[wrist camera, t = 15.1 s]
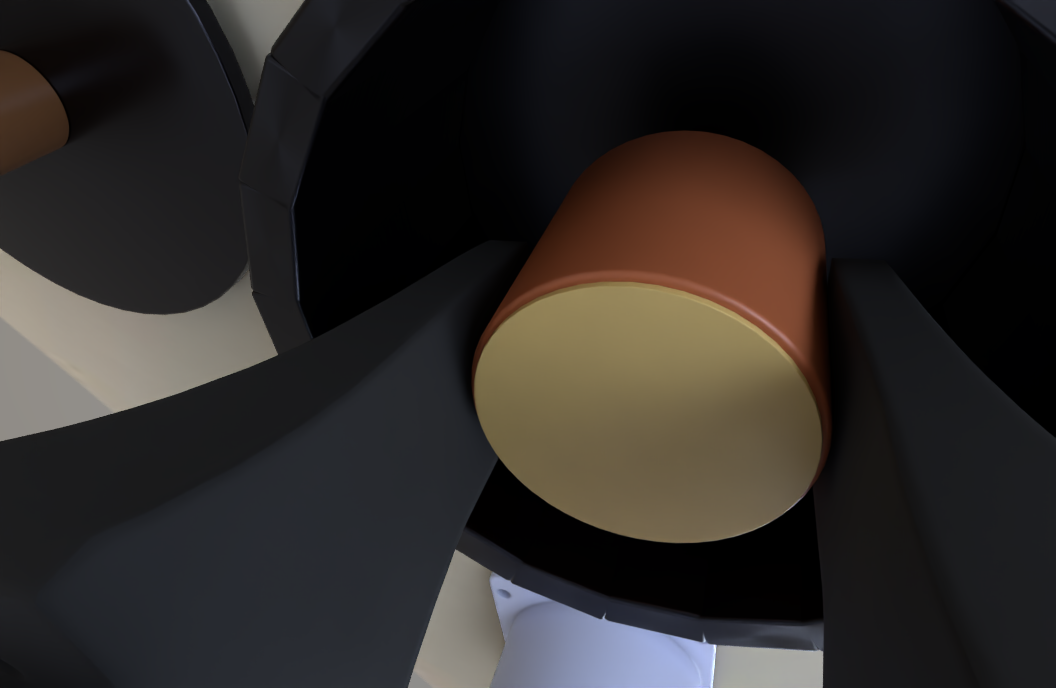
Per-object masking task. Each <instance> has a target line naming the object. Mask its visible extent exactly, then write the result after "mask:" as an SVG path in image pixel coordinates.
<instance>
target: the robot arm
mask: <svg viewBox="0 0 1056 688" xmlns="http://www.w3.org/2000/svg"><path fill="white" fill-rule="evenodd" d="M528 258H529V251H528V244H527V242H519V241H499V240H489V241H486V242H484V243H482V244H480V245H478V246H476V247H474V248H472V249H470V250H469V251H467V252H465V253H463V254H462V255H460V256H458V257H456V258H455V259H453V260H451V261H450V262H448V263H446V264H445V265H443V266H441V267H440V268H438V269H437V270H435V271H433V272H432V273H430V274H428V275H427V276H425V277H423V278H422V279H420V280H418V281H417V282H415V283H413V284H412V285H410V286H408V287H407V288H405V289H403V290H402V291H400V292H398V293H397V294H395V295H393V296H392V297H390V298H388V299H387V300H385V301H383V302H381V303H379V304H377V305H376V306H374V307H372V308H370V309H368V310H367V311H365V312H363V313H361V314H359V315H357V316H356V317H354V318H352V319H350V320H348V321H347V322H345V323H343V324H341V325H339V326H337V327H336V328H334V329H332V330H330V331H328V332H326V333H324V334H322V335H320V336H318V337H316V338H314V339H312V340H310V341H308V342H306V343H304V344H302V345H299V346H297V347H295V348H293V349H291V350H288V351H286V352H284V353H282V354H279V355H277V356H275V357H272V358H270V359H268V360H266V361H263V362H261V363H259V364H256V365H254V366H251V367H249V368H246V369H244V370H241V371H238V372H236V373H233V374H230V375H227V376H225V377H222V378H219V379H217V380H214V381H211V382H208V383H206V384H203V385H200V386H198V387H195V388H192V389H189V390H187V391H184V392H181V393H179V394H176V395H173V396H170V397H166V398H163V399H160V400H157V401H154V402H150V403H147V404H144V405H141V406H138V407H134V408H131V409H128V410H124V411H121V412H117V413H114V414H110V415H107V416H103V417H99V418H96V419H93V420H89V421H85V422H81V423H77V424H73V425H70V426H66V427H62V428H58V429H54V430H49V431H45V432H40V433H36V434H32V435H27V436H22V437H18V438H14V439H9V440H5V441H0V688H408V685H409V682H410V678H411V675H412V672H413V669H414V665H415V662H416V659H417V657H418V654H419V651H420V648H421V645H422V642H423V639H424V636H425V633H426V630H427V627H428V624H429V621H430V618H431V615H432V612H433V609H434V606H435V603H436V600H437V598H438V595H439V592H440V590H441V587H442V584H443V581H444V579H445V576H446V573H447V570H448V568H449V565H450V562H451V559H452V557H453V554H454V551H455V548H456V546H457V543H458V541H459V539H460V537H461V534H462V532H463V530H464V527H465V525H466V523H467V521H468V518H469V516H470V514H471V512H472V510H473V508H474V506H475V504H476V502H477V500H478V498H479V496H480V494H481V492H482V490H483V488H484V486H485V484H486V482H487V480H488V478H489V476H490V474H491V472H492V470H493V468H494V466H495V464H496V462H497V460H498V458H499V457H498V456H497V454H496V453H495V451H494V450H493V448H492V446H491V445H490V443H489V441H488V440H487V438H486V435H485V433H484V431H483V429H482V427H481V424H480V421H479V419H478V415H477V412H476V409H475V405H474V401H473V394H472V387H471V377H472V364H473V358H474V353H475V350H476V347H477V345H478V342H479V340H480V337H481V335H482V334H483V332H484V330H485V329H486V327H487V325H488V324H489V322H490V320H491V319H492V317H493V315H494V314H495V312H496V311H497V309H498V307H499V306H500V304H501V302H502V301H503V299H504V297H505V296H506V294H507V292H508V291H509V289H510V287H511V286H512V284H513V283H514V281H515V279H516V278H517V276H518V274H519V273H520V271H521V269H522V268H523V266H524V264H525V263H526V261H527V259H528ZM827 310H828V336H829V354H830V372H831V397H832V422H833V432H832V441H831V448H830V452H829V455H828V458H827V461H826V464H825V466H824V468H823V470H822V472H821V473H820V475H819V477H818V479H817V481H816V482H815V484H814V485H813V495H814V506H815V516H816V527H817V538H818V548H819V559H820V569H821V580H822V594H823V615H824V649H823V688H1056V438H1055V437H1054V436H1052V435H1051V434H1050V433H1049V432H1048V431H1046V430H1045V429H1044V428H1043V427H1042V426H1041V425H1039V424H1038V423H1037V422H1036V421H1035V420H1034V419H1032V418H1031V417H1030V416H1029V415H1028V414H1027V413H1026V412H1024V411H1023V410H1022V409H1021V408H1020V407H1019V406H1018V405H1017V404H1016V403H1015V402H1014V401H1013V400H1012V399H1011V398H1009V397H1008V396H1007V395H1006V394H1005V393H1004V392H1003V391H1002V390H1001V389H1000V388H999V387H998V386H997V385H996V384H995V383H993V382H992V381H991V380H990V379H989V378H988V377H987V376H986V375H985V374H984V373H983V372H982V371H981V370H980V369H979V368H978V367H977V366H976V365H975V364H974V363H973V362H972V361H971V360H970V359H969V358H968V357H967V355H966V354H965V353H964V352H963V351H962V350H961V349H960V348H959V347H958V346H957V345H956V344H955V342H954V341H953V340H952V339H951V338H950V337H949V336H948V335H947V334H946V333H945V332H944V330H943V329H942V328H941V327H940V326H939V325H938V324H937V322H936V321H935V320H934V319H933V318H932V317H931V315H930V314H929V313H928V312H927V311H926V309H925V308H924V307H923V306H922V305H921V303H920V302H919V301H918V300H917V299H916V297H915V296H914V295H913V294H912V293H911V291H910V290H909V289H908V288H907V286H906V285H905V284H904V283H903V281H902V280H901V279H900V278H899V277H898V275H897V274H896V273H895V272H894V271H893V269H892V268H891V267H890V266H889V265H888V264H887V262H886V261H885V260H870V259H851V258H832V262H831V268H830V273H829V279H828V285H827ZM489 582H490V586H491V590H492V594H493V598H494V601H495V605H496V609H497V613H498V617H499V621H500V624H501V628H502V632H503V636H504V640H505V646H504V649H503V652H502V654H501V657H500V660H499V663H498V666H497V668H496V671H495V674H494V677H493V679H492V682H491V685H490V688H712V687H713V677H714V666H715V655H716V645H711V644H708V643H707V642H706V641H705V642H697V641H693V640H688V639H684V638H680V637H675V636H671V635H667V634H662V633H658V632H654V631H649V630H645V629H641V628H636V627H632V626H628V625H623V624H619V623H615V622H610V621H607V620H606V619H605V618H604V619H603V620H601V619H598V618H595V617H593V616H590V615H588V614H585V613H583V612H581V611H578V610H576V609H573V608H571V607H568V606H566V605H563V604H561V603H558V602H556V601H553V600H551V599H549V598H546V597H544V596H541V595H539V594H536V593H534V592H531V591H529V590H526V589H524V588H521V587H519V586H517V585H514V584H512V583H511V580H510V581H508V580H505V579H504V578H502V577H500V576H499V575H497V574H496V573H494V572H492V574H491V576H490V579H489Z"/></svg>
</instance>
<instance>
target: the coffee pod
mask: <svg viewBox="0 0 1056 688" xmlns="http://www.w3.org/2000/svg"><path fill="white" fill-rule="evenodd" d="M471 387H472V394H473V401H474V405H475V409H476V412H477V415H478V419H479V421H480V424H481V427H482V429H483V431H484V433H485V435H486V438H487V440H488V441H489V443H490V445H491V446H492V448H493V450H494V451H495V453H496V454H497V456H498V457H499V458H500V459H501V461H502V462H503V463H504V465H505V466H506V467H507V468H508V469H509V470H510V471H511V472H512V473H513V474H514V475H515V477H516V478H517V479H518V480H519V481H521V482H522V483H523V484H524V485H525V486H526V487H528V488H529V489H530V490H531V491H532V492H533V493H535V494H536V495H538V496H539V497H540V498H542V499H543V500H545V501H546V502H547V503H549V504H551V505H552V506H554V507H556V508H557V509H559V510H561V511H562V512H564V513H566V514H568V515H570V516H572V517H574V518H576V519H578V520H580V521H582V522H585V523H587V524H590V525H592V526H595V527H597V528H600V529H603V530H606V531H610V532H613V533H616V534H619V535H624V536H628V537H632V538H637V539H643V540H650V541H656V542H670V543H698V542H707V541H716V540H721V539H725V538H730V537H735V536H738V535H741V534H744V533H747V532H750V531H753V530H755V529H757V528H759V527H762V526H764V525H766V524H768V523H770V522H771V521H773V520H774V519H776V518H778V517H779V516H781V515H782V514H784V513H785V512H786V511H788V510H789V509H790V508H792V507H793V506H794V505H795V504H796V503H797V502H798V501H800V500H801V499H802V498H803V497H804V496H805V495H806V493H807V492H808V491H809V490H810V488H811V487H812V486H813V485H814V484H815V482H816V481H817V479H818V477H819V475H820V473H821V472H822V470H823V468H824V466H825V464H826V461H827V458H828V455H829V452H830V448H831V441H832V432H833V422H832V397H831V372H830V354H829V336H828V310H827V270H826V248H825V236H824V231H823V227H822V223H821V219H820V217H819V214H818V212H817V210H816V207H815V205H814V203H813V201H812V200H811V198H810V196H809V195H808V193H807V192H806V190H805V188H804V187H803V186H802V185H801V183H800V182H799V181H798V180H797V179H796V178H795V176H794V175H793V174H792V173H791V172H790V171H789V170H787V169H786V168H785V167H784V166H783V165H782V164H781V163H779V162H778V161H777V160H775V159H774V158H772V157H771V156H769V155H768V154H766V153H765V152H763V151H762V150H760V149H758V148H756V147H753V146H751V145H749V144H747V143H745V142H743V141H740V140H737V139H734V138H731V137H727V136H724V135H719V134H714V133H709V132H702V131H685V130H684V131H669V132H661V133H656V134H651V135H646V136H643V137H640V138H637V139H634V140H631V141H628V142H626V143H624V144H622V145H620V146H618V147H616V148H614V149H612V150H610V151H609V152H607V153H606V154H604V155H603V156H601V157H600V158H598V159H597V160H596V161H595V162H593V163H592V164H591V165H590V166H589V167H588V168H587V169H586V170H584V172H583V173H582V174H581V175H580V176H579V178H578V179H577V180H576V181H575V182H574V184H573V186H572V187H571V189H570V190H569V192H568V194H567V195H566V197H565V199H564V200H563V202H562V204H561V205H560V207H559V208H558V210H557V212H556V213H555V215H554V217H553V218H552V220H551V222H550V223H549V225H548V227H547V228H546V230H545V232H544V233H543V235H542V236H541V238H540V240H539V241H538V243H537V245H536V246H535V248H534V250H533V251H532V253H531V255H530V256H529V258H528V259H527V261H526V263H525V264H524V266H523V268H522V269H521V271H520V273H519V274H518V276H517V278H516V279H515V281H514V283H513V284H512V286H511V287H510V289H509V291H508V292H507V294H506V296H505V297H504V299H503V301H502V302H501V304H500V306H499V307H498V309H497V311H496V312H495V314H494V315H493V317H492V319H491V320H490V322H489V324H488V325H487V327H486V329H485V330H484V332H483V334H482V335H481V337H480V340H479V342H478V345H477V347H476V350H475V353H474V358H473V364H472V377H471Z"/></svg>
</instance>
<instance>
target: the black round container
mask: <svg viewBox="0 0 1056 688" xmlns="http://www.w3.org/2000/svg"><path fill="white" fill-rule="evenodd" d="M684 130H685V131H702V132H709V133H714V134H719V135H724V136H727V137H731V138H734V139H737V140H740V141H743V142H745V143H747V144H749V145H751V146H753V147H756V148H758V149H760V150H762V151H763V152H765V153H766V154H768V155H769V156H771V157H772V158H774V159H775V160H777V161H778V162H779V163H781V164H782V165H783V166H784V167H785V168H786V169H787V170H789V171H790V172H791V173H792V174H793V175H794V176H795V178H796V179H797V180H798V181H799V182H800V183H801V185H802V186H803V187H804V188H805V190H806V192H807V193H808V195H809V196H810V198H811V200H812V201H813V203H814V205H815V207H816V210H817V212H818V214H819V217H820V219H821V223H822V227H823V231H824V236H825V248H826V270H827V285H828V279H829V273H830V268H831V262H832V258H851V259H870V260H885V261H886V262H887V264H888V265H889V266H890V267H891V268H892V269H893V271H894V272H895V273H896V274H897V275H898V277H899V278H900V279H901V280H902V281H903V283H904V284H905V285H906V286H907V288H908V289H909V290H910V291H911V293H912V294H913V295H914V296H915V297H916V299H917V300H918V301H919V302H920V303H921V305H922V306H923V307H924V308H925V309H926V311H927V312H928V313H929V314H930V315H931V317H932V318H933V319H934V320H935V321H936V322H937V324H938V325H939V326H940V327H941V328H942V329H943V330H944V332H945V333H946V334H947V335H948V336H949V337H950V338H951V339H952V340H953V341H954V342H955V344H956V345H957V346H958V347H959V348H960V349H961V350H962V351H963V352H964V353H965V354H966V355H967V357H968V358H969V359H970V360H971V361H972V362H973V363H974V364H975V365H976V366H977V367H978V368H979V369H980V370H981V371H982V372H983V373H984V374H985V375H986V376H987V377H988V378H989V379H990V380H991V381H992V382H993V383H995V384H996V385H997V386H998V387H999V388H1000V389H1001V390H1002V391H1003V392H1004V393H1005V394H1006V395H1007V396H1008V397H1009V398H1011V399H1012V400H1013V401H1014V402H1015V403H1016V404H1017V405H1018V406H1019V407H1020V408H1021V409H1022V410H1023V411H1024V412H1026V413H1027V414H1028V415H1029V416H1030V417H1031V418H1032V419H1034V420H1035V421H1036V422H1037V423H1038V424H1039V425H1041V426H1042V427H1043V428H1044V429H1045V430H1046V431H1048V432H1049V433H1050V434H1051V435H1052V436H1054V437H1055V438H1056V0H305V1H304V2H303V3H302V5H301V6H300V8H299V9H298V11H297V12H296V13H295V15H294V16H293V18H292V19H291V20H290V22H289V23H288V25H287V26H286V28H285V29H284V30H283V32H282V33H281V35H280V36H279V38H278V39H277V40H276V42H275V43H274V45H273V46H272V49H271V53H269V54H268V55H267V56H266V58H265V62H264V66H263V71H262V75H261V79H260V84H259V88H258V93H257V97H256V101H255V106H254V110H253V115H252V119H251V123H250V128H249V132H248V137H247V141H246V145H245V150H244V154H243V159H242V163H241V167H240V172H239V176H238V177H239V180H240V184H239V189H240V197H241V205H242V214H243V222H244V230H245V238H246V247H247V255H248V263H249V271H250V280H251V288H252V289H253V292H252V296H253V298H254V300H255V302H256V305H257V307H258V309H259V312H260V314H261V316H262V319H263V321H264V323H265V325H266V328H267V330H268V332H269V335H270V337H271V339H272V342H273V344H274V346H275V349H276V351H277V353H278V355H279V354H282V353H284V352H286V351H288V350H291V349H293V348H295V347H297V346H299V345H302V344H304V343H306V342H308V341H310V340H312V339H314V338H316V337H318V336H320V335H322V334H324V333H326V332H328V331H330V330H332V329H334V328H336V327H337V326H339V325H341V324H343V323H345V322H347V321H348V320H350V319H352V318H354V317H356V316H357V315H359V314H361V313H363V312H365V311H367V310H368V309H370V308H372V307H374V306H376V305H377V304H379V303H381V302H383V301H385V300H387V299H388V298H390V297H392V296H393V295H395V294H397V293H398V292H400V291H402V290H403V289H405V288H407V287H408V286H410V285H412V284H413V283H415V282H417V281H418V280H420V279H422V278H423V277H425V276H427V275H428V274H430V273H432V272H433V271H435V270H437V269H438V268H440V267H441V266H443V265H445V264H446V263H448V262H450V261H451V260H453V259H455V258H456V257H458V256H460V255H462V254H463V253H465V252H467V251H469V250H470V249H472V248H474V247H476V246H478V245H480V244H482V243H484V242H486V241H489V240H499V241H519V242H527V244H528V251H529V256H530V255H531V253H532V251H533V250H534V248H535V246H536V245H537V243H538V241H539V240H540V238H541V236H542V235H543V233H544V232H545V230H546V228H547V227H548V225H549V223H550V222H551V220H552V218H553V217H554V215H555V213H556V212H557V210H558V208H559V207H560V205H561V204H562V202H563V200H564V199H565V197H566V195H567V194H568V192H569V190H570V189H571V187H572V186H573V184H574V182H575V181H576V180H577V179H578V178H579V176H580V175H581V174H582V173H583V172H584V170H586V169H587V168H588V167H589V166H590V165H591V164H592V163H593V162H595V161H596V160H597V159H598V158H600V157H601V156H603V155H604V154H606V153H607V152H609V151H610V150H612V149H614V148H616V147H618V146H620V145H622V144H624V143H626V142H628V141H631V140H634V139H637V138H640V137H643V136H646V135H651V134H656V133H661V132H669V131H684ZM455 549H456V550H458V551H460V552H461V553H463V554H464V555H466V556H468V557H469V558H471V559H473V560H474V561H476V562H478V563H479V564H481V565H482V566H484V567H486V568H487V569H489V570H491V571H492V572H494V573H496V574H497V575H499V576H500V577H502V578H504V579H505V580H508V581H510V580H511V583H512V584H514V585H517V586H519V587H521V588H524V589H526V590H529V591H531V592H534V593H536V594H539V595H541V596H544V597H546V598H549V599H551V600H553V601H556V602H558V603H561V604H563V605H566V606H568V607H571V608H573V609H576V610H578V611H581V612H583V613H585V614H588V615H590V616H593V617H595V618H598V619H601V620H603V619H604V618H605V619H606V620H607V621H610V622H615V623H619V624H623V625H628V626H632V627H636V628H641V629H645V630H649V631H654V632H658V633H662V634H667V635H671V636H675V637H680V638H684V639H688V640H693V641H697V642H705V641H706V642H707V643H708V644H711V645H724V646H740V647H756V648H772V649H787V650H803V651H818V650H821V651H823V649H824V615H823V594H822V580H821V569H820V559H819V548H818V538H817V527H816V516H815V506H814V495H813V486H812V487H811V488H810V490H809V491H808V492H807V493H806V495H805V496H804V497H803V498H802V499H801V500H800V501H798V502H797V503H796V504H795V505H794V506H793V507H792V508H790V509H789V510H788V511H786V512H785V513H784V514H782V515H781V516H779V517H778V518H776V519H774V520H773V521H771V522H770V523H768V524H766V525H764V526H762V527H759V528H757V529H755V530H753V531H750V532H747V533H744V534H741V535H738V536H735V537H730V538H725V539H721V540H716V541H707V542H698V543H670V542H656V541H650V540H643V539H637V538H632V537H628V536H624V535H619V534H616V533H613V532H610V531H606V530H603V529H600V528H597V527H595V526H592V525H590V524H587V523H585V522H582V521H580V520H578V519H576V518H574V517H572V516H570V515H568V514H566V513H564V512H562V511H561V510H559V509H557V508H556V507H554V506H552V505H551V504H549V503H547V502H546V501H545V500H543V499H542V498H540V497H539V496H538V495H536V494H535V493H533V492H532V491H531V490H530V489H529V488H528V487H526V486H525V485H524V484H523V483H522V482H521V481H519V480H518V479H517V478H516V477H515V475H514V474H513V473H512V472H511V471H510V470H509V469H508V468H507V467H506V466H505V465H504V463H503V462H502V461H501V459H500V458H498V460H497V462H496V464H495V466H494V468H493V470H492V472H491V474H490V476H489V478H488V480H487V482H486V484H485V486H484V488H483V490H482V492H481V494H480V496H479V498H478V500H477V502H476V504H475V506H474V508H473V510H472V512H471V514H470V516H469V518H468V521H467V523H466V525H465V527H464V530H463V532H462V534H461V537H460V539H459V541H458V543H457V546H456V548H455Z"/></svg>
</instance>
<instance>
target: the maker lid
mask: <svg viewBox="0 0 1056 688" xmlns="http://www.w3.org/2000/svg"><path fill="white" fill-rule="evenodd" d="M253 110H254V105H253V102H252V98H251V95H250V92H249V89H248V86H247V84H246V82H245V79H244V77H243V74H242V72H241V69H240V67H239V65H238V62H237V60H236V57H235V55H234V52H233V50H232V48H231V46H230V44H229V42H228V40H227V38H226V36H225V34H224V32H223V31H222V29H221V27H220V25H219V23H218V21H217V19H216V17H215V15H214V13H213V11H212V9H211V8H210V6H209V4H208V3H207V1H206V0H0V248H1V249H2V250H3V251H5V252H6V253H8V254H9V255H11V256H12V257H14V258H15V259H16V260H18V261H19V262H21V263H22V264H24V265H25V266H27V267H28V268H30V269H31V270H33V271H35V272H37V273H38V274H40V275H42V276H43V277H45V278H47V279H48V280H50V281H52V282H54V283H55V284H58V285H60V286H62V287H64V288H66V289H68V290H70V291H72V292H74V293H76V294H78V295H80V296H83V297H85V298H88V299H90V300H93V301H96V302H98V303H101V304H104V305H107V306H111V307H114V308H118V309H121V310H126V311H131V312H137V313H143V314H162V315H167V314H175V313H184V312H188V311H191V310H194V309H198V308H201V307H204V306H206V305H208V304H209V303H211V302H213V301H215V300H217V299H218V298H220V297H221V296H222V295H223V294H225V293H226V292H227V291H228V290H229V289H230V288H232V287H233V286H234V285H235V284H236V283H237V282H238V281H239V280H240V279H242V277H243V276H244V275H245V273H246V272H247V270H248V269H249V263H248V255H247V247H246V238H245V230H244V222H243V214H242V205H241V197H240V189H239V184H240V180H239V177H238V176H239V172H240V167H241V163H242V159H243V154H244V150H245V145H246V141H247V137H248V132H249V128H250V123H251V119H252V115H253Z"/></svg>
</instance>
